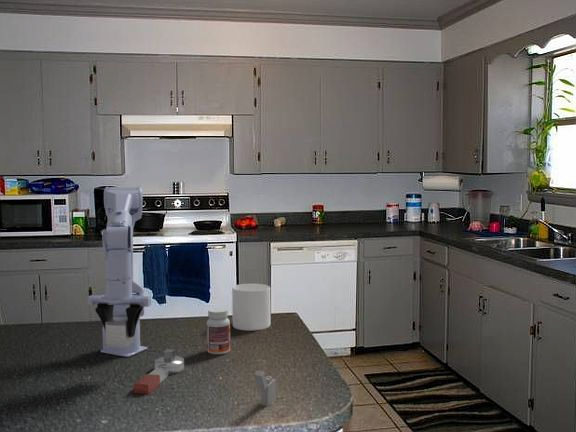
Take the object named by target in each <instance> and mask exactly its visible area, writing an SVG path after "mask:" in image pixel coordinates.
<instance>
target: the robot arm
mask: <svg viewBox="0 0 576 432" xmlns="http://www.w3.org/2000/svg"><path fill="white" fill-rule="evenodd" d="M143 200H144V199H143V188H142V187H141V186H140V185H139V186H121V187H120V186H117V187H116V186H113V187H111V186H110V187H109V186H106V187H105V188H104V190H103V206H104V210H105V215H106V217H107V222H106V228H105V229H102V238H101V239H102V240H101V242H102V248H103V255H104V256H103V257H104V260H105V280H106V281H105V283H106V284H105V287H106V291H105V293H106V294H99V295H97V294H93V295H92V294H91V295H89V296H87V305H88V306H94V305H97V306H96V307H95V308H94V309H95V310H94V311H95V313H96V314H97V316H98V317H99V319H100V321H101V323H102V329H101V330H102V349H101V350H100V353H103V354H109V355H115V356H119V357H124V358H128V357H132V356H134V355H136V354H139V353H141V352H143V351H146V350H148V347H147V346H143V345H141V323H140V322H141V319H140V318H141V317H143V316H144V315H145V307H147V308H149V307H150V306H151V305H152V297H151V296H145V294H144V293H145V292H144V291H145V290H144V288H143V286H142V285H140V284H139V283H137V282H136V281H134V227H135V224H136V222H137V221H139V220H140V219H142V215H143V205H144V204H143V203H144V202H143ZM113 316H127V319H128V335H129V337H133V336H134V342H133V343H131V344H130V345H129V346H128V347H127V348H119V347H106V326H105V322H106V321H107V320H108V319H110V318H111V317H113Z"/></svg>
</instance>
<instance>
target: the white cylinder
mask: <svg viewBox="0 0 576 432" xmlns="http://www.w3.org/2000/svg"><path fill="white" fill-rule="evenodd" d="M231 291H232V292H231V294H232V295H231V297H232V298H231V299H232V301H231V302H232V303H231V304H232V305H231V306H232V307H231V309H232V327H233V328H234V329H236V330H240V331H249V332H250V331H253V332H254V331H261V330H265V329H268V328H270V326H271V315H272V314H271V286H270V285H268V284H264V283H242V284H241V283H240V284H236V285H233V286H232V288H231Z"/></svg>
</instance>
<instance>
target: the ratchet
mask: <svg viewBox="0 0 576 432" xmlns="http://www.w3.org/2000/svg"><path fill="white" fill-rule="evenodd" d="M183 371H185V358H184V357H182V356H178V355H176V350H175V348H173V349H171V348H167V349H164V350H163V356H162V357H159V358H156V359H155V360H154V369H153V370H152V371H151V372H149V373H145V374H144V375H143V376H141V377H140V378H139V379H138V380H137V381H135V382H134V383H133V393H134V394H143V395H144V394H145V395H149V394H151V393H152V392H153V391H154V390H155V389H156V388H158V387H159V386H160V385H161V383H162V382H163V381H164V380H165V379H166V378H167V377H169V376H170V375H175V374H179V373H181V372H183Z"/></svg>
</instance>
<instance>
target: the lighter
mask: <svg viewBox="0 0 576 432" xmlns="http://www.w3.org/2000/svg"><path fill="white" fill-rule="evenodd" d="M253 377H254V382H255V385H256V388H257V390H258V391H260V406H265V407H268V406H270V405H271V404H272V403H273V402H275V401H276V399H277V383H276V382H277V379H275V378H273V376H272V375H267V376H266V375H265V371H264V370H260V369H259V370H255V373H254V374H253Z"/></svg>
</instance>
